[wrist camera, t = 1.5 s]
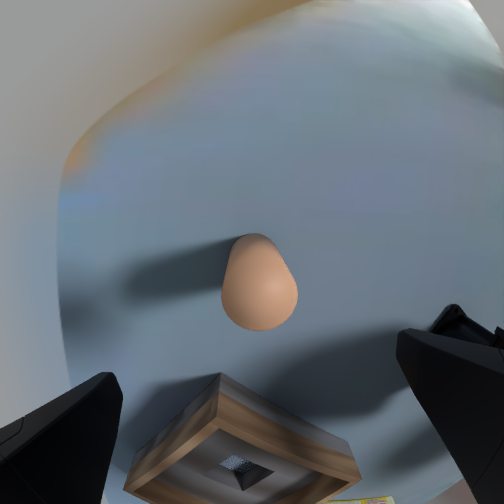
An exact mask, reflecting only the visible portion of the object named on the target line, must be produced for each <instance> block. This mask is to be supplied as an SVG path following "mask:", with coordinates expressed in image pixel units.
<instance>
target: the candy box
mask: <svg viewBox="0 0 504 504" xmlns="http://www.w3.org/2000/svg"><path fill="white" fill-rule="evenodd" d="M323 504H395V503H394V500H393V498H392V496H387V497H379V498H370V499H359V500H344V501H327V502H325V503H323Z"/></svg>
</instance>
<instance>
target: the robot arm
mask: <svg viewBox="0 0 504 504" xmlns="http://www.w3.org/2000/svg"><path fill="white" fill-rule="evenodd" d="M455 309H456V310H455ZM396 358H397V361H398V363H399V365H400V367H401V369H402V371H403V373H404V375H405V377H406V379H407V381H408V383H409V385H410V387H411V389H412V391H413V393H414V395H415V396H416V398H417V400H418V401H419V403H420V404H421V406H422V408H423V409H424V411H425V412H426V414H427V416H428V417H429V419H430V420H431V422H432V424H433V425H434V427H435V429H436V430H437V432H438V434H439V435H440V437H441V439H442V440H443V442H444V444H445V445H446V447H447V449H448V450H449V452H450V454H451V456H452V457H453V459H454V461H455V462H456V464H457V466H458V468H459V469H460V471H461V473H462V475H463V477H464V478H465V480H466V482H467V484H468V486H469V488H470V489H472V490H471V492H472V493H473V495H474V497H475V499H476V501H477V503H478V504H504V330H503V329H501V328H500V327H498V326H497V328H496V330H495V334H493V333H491V332H490V331H488V330H487V329H485V328H484V327H482V326H481V325H479V324H478V323H476V322H475V321H473V320H472V319H470V318H469V317H467V316H466V314H465V313H464V311H463V310H462V309H461V307H460V306H459V305H457V304H454V305H452V307H451V308H450V309H449V311H448V312H447V313H446V314H445V316H444V317H443V318H442V320H441V321H440V322H439V323H438V325H437V326H436V327H435V328H434V330H433V331H432V332H431V333H428V332H424V331H420V330H416V329H412V328H408V329H405V330H401V331H400V332H399V333H398V337H397V348H396ZM122 402H123V394H122V391H121V388H120V386H119V384H118V381H117V379H116V376H115V375H114V373H112V372H101V373H99V374H97V375H95V376H94V377H92V378H90V379H89V380H87V381H85V382H83V383H82V384H80V385H78V386H76V387H75V388H73V389H71V390H70V391H68V392H66V393H64V394H62V395H61V396H59V397H57V398H56V399H54V400H52V401H50V402H48V403H47V404H45V405H43V406H41V407H40V408H38V409H36V410H34V411H32V412H31V413H29V414H27V415H25V417H21V418H20V419H18V420H16V421H14V422H12V423H11V424H9V425H7V426H4V427H3V428H0V504H101V499H102V494H103V490H104V486H105V482H106V477H107V473H108V469H109V465H110V461H111V457H112V453H113V450H114V446H115V442H116V438H117V433H118V427H119V421H120V414H121V408H122Z"/></svg>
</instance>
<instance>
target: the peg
mask: <svg viewBox="0 0 504 504" xmlns="http://www.w3.org/2000/svg"><path fill="white" fill-rule="evenodd" d="M297 296H298V292H297V286H296V283H295V281H294V278H293V277H292V275H291V273H290V271H289V269H288V268H287V266H286V264H285V262H284V261H283V259H282V257H281V255H280V254H279V252H278V250H277V248H276V246H275V245H274V243H273V242H272V241H271V240H270V239H269V238H267V237H266V236H264V235H261V234H247V235H244V236H242V237H240V238H239V239H238V240H237V241H236V242H235V243H234V244H233V246H232V248H231V251H230V255H229V259H228V264H227V269H226V273H225V278H224V283H223V287H222V294H221V298H222V304H223V307H224V310H225V312H226V314H227V315H228V317H229V318H230V319H231V320H232V321H233V322H234V323H236V324H237V325H239V326H240V327H243V328H245V329H248V330H253V331H264V330H269V329H273V328H275V327H277V326H279V325H281V324H282V323H283V322H285V321H286V320H287V319H288V318H289V317H290V315H291V314H292V312H293V311H294V308H295V306H296V303H297Z"/></svg>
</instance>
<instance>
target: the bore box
mask: <svg viewBox="0 0 504 504" xmlns="http://www.w3.org/2000/svg"><path fill="white" fill-rule="evenodd" d="M232 454H234V455H237V456H239V457H241V458H243V459H246V460H248V461H250V462H253V463H255V464H257V466H255V467H254V468H252V469H250V470H249V471H247V472H246V473H244V474H243V475H242V474H240V473H237V472H235V471H233V470H230V469H228V468H226V467H223V466H221V465H219V464H220V463H221V462H222V461H224V460H225V459H227V458H228V457H230V456H231V455H232ZM360 480H362V478H361V475H360V472H359V470H358V467H357V465H356V462H355V459H354V457H353V454H352V452H351V449H350V447H349V444H348V442H347V441H345V440H343V439H341V438H339V437H336V436H334V435H332V434H330V433H328V432H326V431H324V430H322V429H320V428H318V427H316V426H314V425H312V424H310V423H308V422H306V421H304V420H302V419H300V418H298V417H296V416H295V415H293V414H291V413H289V412H287V411H285V410H283V409H282V408H280V407H278V406H276V405H275V404H273V403H271V402H269V401H267V400H266V399H264V398H262V397H261V396H259V395H257V394H255V393H254V392H252V391H250V390H249V389H247V388H245V387H244V386H242V385H241V384H239V383H237V382H236V381H234V380H232V379H231V378H229V377H228V376H226V375H225V374H223V373H220V374H219V375H218V376H217V377H216V378H215V379H214V380H213V381H212V382H211V383H210V384H209V385H208V386H207V387H206V388H205V389H204V390H203V391H202V392H201V393H200V394H199V395H198V396H197V397H196V398H195V399H194V400H193V401H192V402H191V403H190V404H189V405H188V406H187V407H186V408H185V409H184V410H183V411H182V412H181V413H179V414H178V415H177V416H176V417H175V418H174V419H173V420H172V421H171V422H170V423H169V424H168V425H167V426H166V427H165V428H164V429H162V430H161V431H160V432H159V433H158V434H157V435H156V436H155V437H154V438H153V439H152V440H151V441H149V442H148V443H147V444H146V445H145V446H144V447H143V448H142V449H141V450H139V451H138V452H137V453H136V454H135V457H134V459H133V462H132V465H131V468H130V471H129V474H128V476H127V479H126V482H125V485H124V488H123V490H124V491H126V492H128V493H130V494H132V495H134V496H136V497H138V498H140V499H142V500H144V501H146V502H148V503H150V504H323V503H325V502H327V501H328V500H330V499H332V498H333V497H335V496H337V495H338V494H340V493H342V492H343V491H345V490H346V489H348V488H350V487H351V486H353V485H354V484H356V483H357V482H359V481H360Z"/></svg>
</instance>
